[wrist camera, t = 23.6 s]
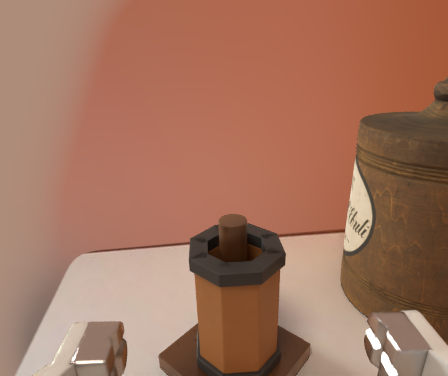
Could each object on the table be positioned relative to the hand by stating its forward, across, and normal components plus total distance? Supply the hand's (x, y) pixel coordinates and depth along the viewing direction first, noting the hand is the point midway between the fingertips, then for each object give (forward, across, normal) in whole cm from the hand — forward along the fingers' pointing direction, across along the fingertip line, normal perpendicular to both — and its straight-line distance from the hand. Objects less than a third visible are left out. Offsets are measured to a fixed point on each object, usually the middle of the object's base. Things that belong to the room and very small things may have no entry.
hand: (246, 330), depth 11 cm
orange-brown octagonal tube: (+12, 0, +14) cm, 19 cm away
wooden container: (+20, -20, +16) cm, 32 cm away
